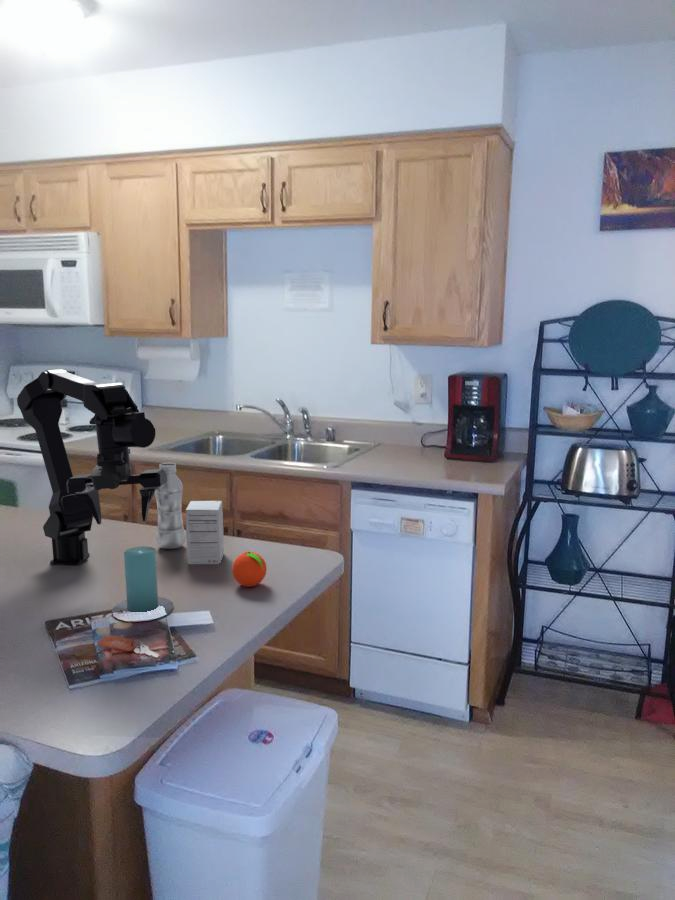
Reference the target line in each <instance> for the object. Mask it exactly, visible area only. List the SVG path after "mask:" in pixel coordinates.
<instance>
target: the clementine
mask: <svg viewBox="0 0 675 900" xmlns="http://www.w3.org/2000/svg"><path fill="white" fill-rule="evenodd" d="M267 569H268V568H267V564H266V561H265V559H264V558H263V557H262V556H261V555H260V554H258V553H257V552H255V551H245V552H242V553H241V554H240V555H238V556H237V557H236V558H235V559H234V562H233V563H232V570H231V572H232V576H233V577H234V580H235V581H236V582H237V583H238V584H239V585H240V586H243V587H248V588H249V587H254V586H258V585H259V584H260V583H261V582H263V580H264V579H265V577H266V574H267Z"/></svg>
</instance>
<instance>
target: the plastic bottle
mask: <svg viewBox="0 0 675 900" xmlns="http://www.w3.org/2000/svg"><path fill="white" fill-rule="evenodd" d="M158 466H159V468H158V469H163V470H164V471H165V472H166V476H167V482H166V483H164V484H163V485H162V486H161V487H159V488H158V489H157V490H155V492H154V496H155V501H156V507H157V530H156V536H155V537H156V541H157V545H158V546H159V548H162V549H166V550H167V549H168V550H172V549H179V548H181V547H183V546H184V544H185V543H186V539H187V535H186V531H185V528H184V522H183V514H182V512H183V511H182V507H183V506H182V502H183V490H184V486H183V483H182V481H181V479H180V478H179V476H177V474H176V473H177V465H176V463H174V462H163V463H159V465H158Z"/></svg>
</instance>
